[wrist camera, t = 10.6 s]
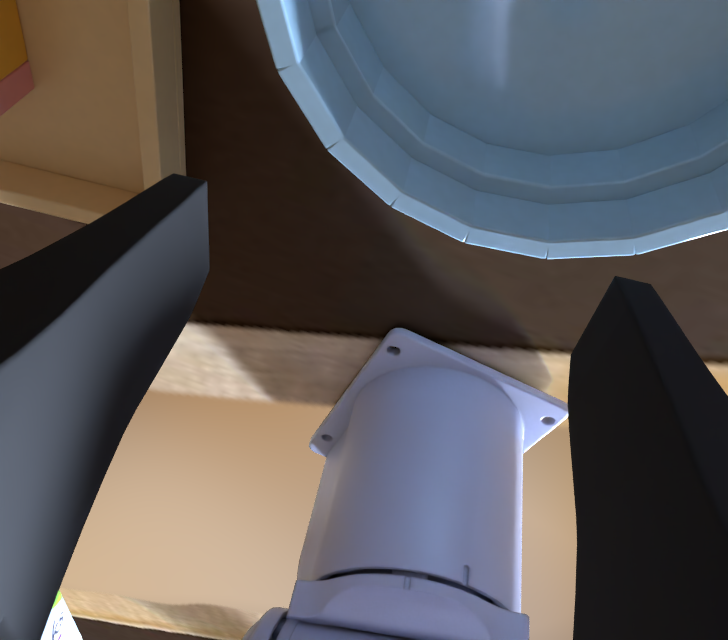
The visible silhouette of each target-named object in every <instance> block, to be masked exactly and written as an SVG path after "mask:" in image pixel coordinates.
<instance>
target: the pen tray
mask: <svg viewBox="0 0 728 640" xmlns="http://www.w3.org/2000/svg"><path fill="white" fill-rule="evenodd" d="M16 4H17V9H18V14H19V19H20V23H21V28H22V33H23V38H24V42H25V47H26V52H27V57H28V58H27V61H29V64H30V69H31V73H32V78H33V83H34V89H33V90H32V91H31V92H29V93H28V94H27V95H26V96H25V97H23V98H22V99H21V100H20V101H18V102H17V103H16V104H15V105H14V106H12V107H11V108H10V109H9V110H8V111H6V112H5V113H4V114H3V115H2V116H0V202H1V203H5V204H9V205H13V206H17V207H21V208H25V209H29V210H34V211H38V212H42V213H46V214H50V215H54V216H58V217H62V218H66V219H70V220H74V221H78V222H82V223H86V224H90V223H91V222H93V221H95V220H96V219H98V218H100V217H102V216H103V215H105V214H107V213H108V212H110V211H112V210H113V209H115V208H117V207H118V206H120V205H122V204H123V203H125V202H127V201H128V200H130V199H131V198H133V197H135V196H136V195H138V194H140V193H141V192H143V191H144V190H146V189H148V188H149V187H151V186H152V185H154V184H156V183H157V182H159V181H161V180H162V179H164V178H166V177H168V176H169V175H171V174H173V173H175V174H179V175H183V176H186V158H185V132H184V106H183V80H182V54H181V28H180V2H179V0H16Z"/></svg>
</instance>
